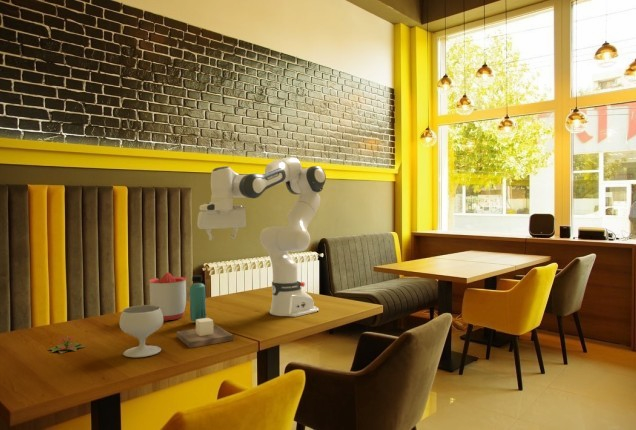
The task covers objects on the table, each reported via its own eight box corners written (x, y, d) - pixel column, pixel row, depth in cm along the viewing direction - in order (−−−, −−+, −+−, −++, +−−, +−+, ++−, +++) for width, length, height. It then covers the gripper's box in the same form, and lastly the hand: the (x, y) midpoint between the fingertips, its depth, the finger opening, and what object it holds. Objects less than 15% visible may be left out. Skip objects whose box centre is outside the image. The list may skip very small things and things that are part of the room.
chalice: (158, 343, 173) (157, 302, 173) (169, 354, 161) (168, 310, 161) (116, 350, 166) (115, 307, 165) (124, 362, 154) (123, 315, 153)
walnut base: (217, 330, 190) (217, 325, 190) (233, 340, 177) (232, 335, 176) (177, 336, 182) (176, 331, 182) (189, 348, 168) (189, 342, 168)
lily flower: (73, 342, 177) (73, 330, 177) (92, 347, 171) (92, 335, 170) (40, 352, 167) (39, 338, 167) (59, 357, 160) (58, 344, 160)
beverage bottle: (202, 325, 197) (201, 277, 197) (187, 324, 199) (186, 276, 198) (209, 321, 204) (208, 274, 203) (194, 320, 205) (193, 274, 204)
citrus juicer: (179, 311, 223) (178, 268, 222) (192, 319, 209) (191, 273, 208) (144, 316, 214) (143, 271, 214) (155, 324, 200) (154, 276, 199)
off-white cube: (208, 330, 182) (208, 317, 182) (213, 333, 178) (213, 320, 178) (195, 332, 180) (195, 319, 180) (200, 336, 176) (200, 322, 175)
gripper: (242, 205, 207) (243, 237, 208) (195, 206, 196) (196, 240, 197) (248, 205, 202) (248, 238, 202) (200, 206, 191) (201, 241, 192)
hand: (222, 239), depth 200 cm, fingers open, 8 cm apart
